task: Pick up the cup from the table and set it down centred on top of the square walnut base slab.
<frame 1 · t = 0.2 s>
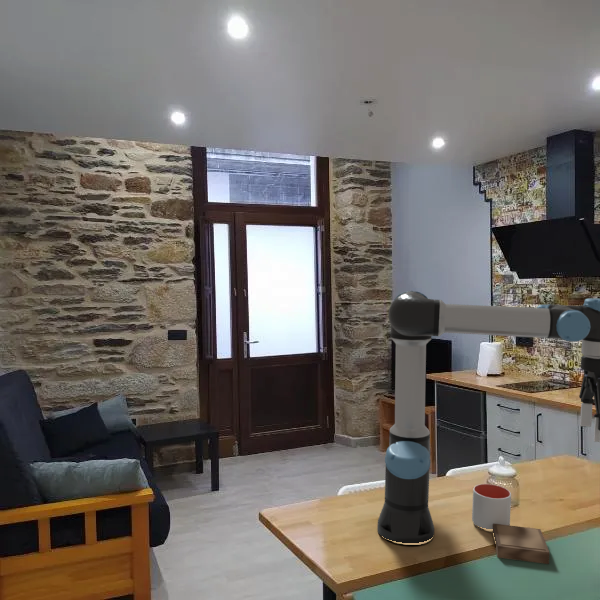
hand: (592, 433, 151), 28 cm above the table, tool pointing down, fingers open, 13 cm apart
cup: (490, 526, 156), on the table
base: (519, 548, 144), on the table
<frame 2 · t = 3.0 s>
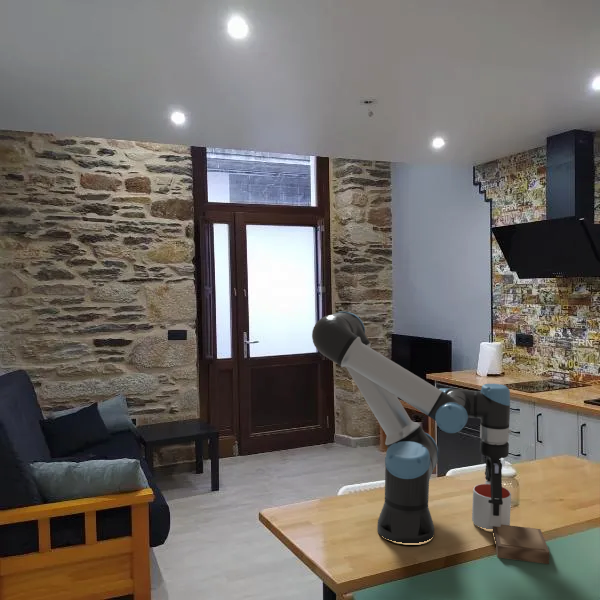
hand: (492, 514, 155), 3 cm above the table, tool pointing down, fingers open, 13 cm apart
nothing on the table moved.
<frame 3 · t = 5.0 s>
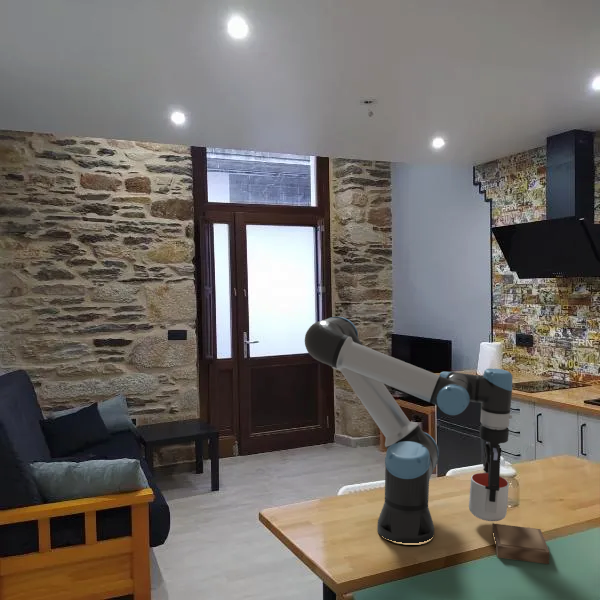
hand: (488, 503, 155), 6 cm above the table, tool pointing down, fingers closed on cup, 10 cm apart
cup: (487, 514, 156), point 3 cm above the table, touching gripper
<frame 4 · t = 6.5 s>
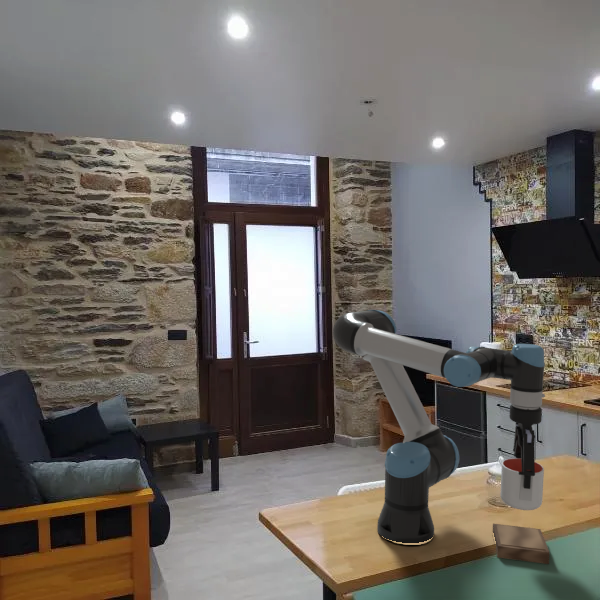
hand: (522, 490, 142), 15 cm above the table, tool pointing down, fingers closed on cup, 10 cm apart
cup: (520, 503, 143), point 12 cm above the table, touching gripper
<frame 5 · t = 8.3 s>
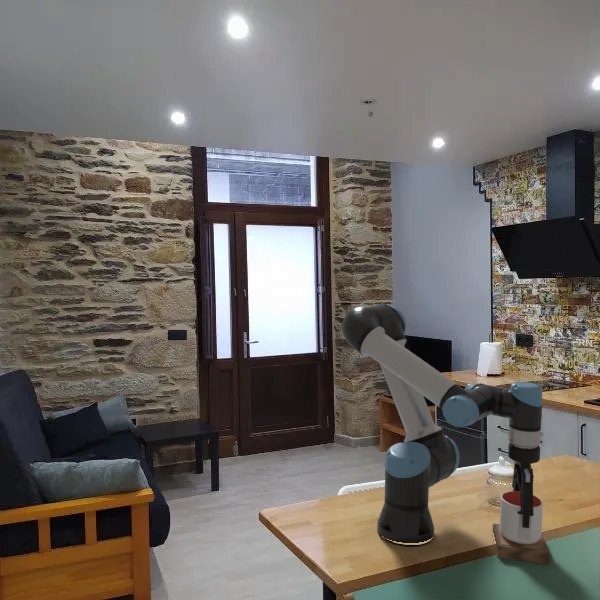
hand: (521, 528, 143), 5 cm above the table, tool pointing down, fingers closed on cup, 10 cm apart
cup: (519, 537, 143), point 3 cm above the table, touching base, gripper
when the fingers open (5 cm above the table, at t = 9.2 s): cup stays where it is, resting on base.
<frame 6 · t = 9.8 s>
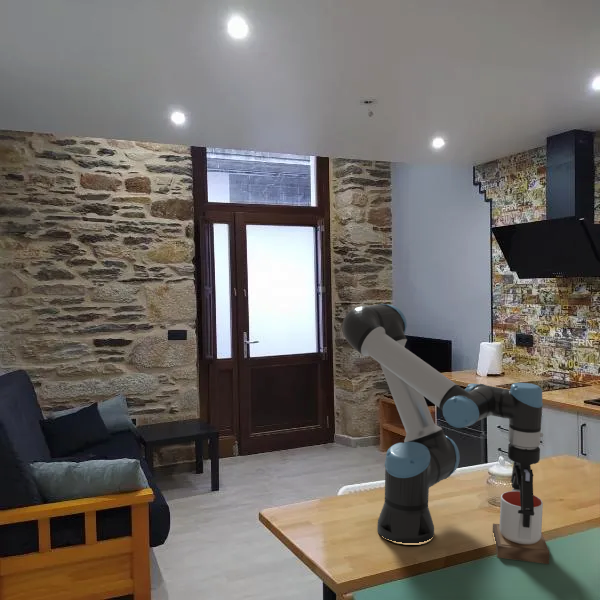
hand: (520, 525, 143), 6 cm above the table, tool pointing down, fingers open, 13 cm apart
cup: (519, 537, 143), point 3 cm above the table, touching base
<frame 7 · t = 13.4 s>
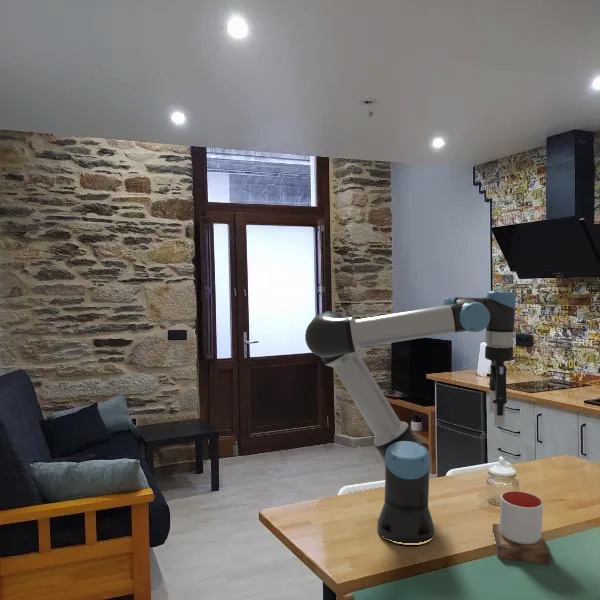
hand: (496, 419, 159), 29 cm above the table, tool pointing down, fingers open, 13 cm apart
nothing on the table moved.
at the end: cup inside the target area on the base (0.0 cm from its centre), point 2.9 cm above the base's base; cup tilted 0°; the gripper is holding nothing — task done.
